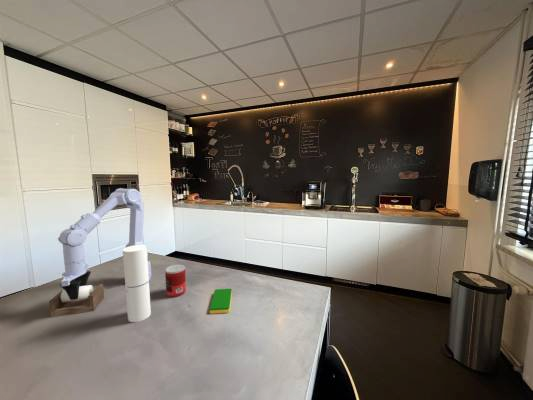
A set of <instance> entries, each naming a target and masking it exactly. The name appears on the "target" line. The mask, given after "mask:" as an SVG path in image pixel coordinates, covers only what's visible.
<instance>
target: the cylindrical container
mask: <svg viewBox="0 0 533 400" xmlns="http://www.w3.org/2000/svg"><path fill="white" fill-rule="evenodd" d="M147 253H148V249H147V245H146V244H145V245H134V246H129V247H126V246H125V247H124V248H123V249H122V261H123V271H124V272H123V273H124V283H125V296H126V299H125V300H126V311H127V313H126V314H127V320H128V322H130V323H139V322H141V321H144V320H146V319H147V318H149V317H150V316H151V314H152V310H151V309H152V307H151V296H150V295H151V293H150V292H151V291H150V280H149V276H148V261H149V259H148V257H147Z"/></svg>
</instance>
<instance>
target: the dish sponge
mask: <svg viewBox="0 0 533 400" xmlns="http://www.w3.org/2000/svg"><path fill="white" fill-rule="evenodd" d="M232 294H233V288H218V289H217V288H216V289H214V291H213V295H212V299H211V302H210V306H209V314H210V315H211V314H230V312H231V305H232V304H231V303H232Z"/></svg>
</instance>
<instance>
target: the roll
mask: <svg viewBox="0 0 533 400" xmlns="http://www.w3.org/2000/svg"><path fill="white" fill-rule="evenodd" d="M62 290H63V291H62ZM62 290H61V291H62V293H61V301H62V302H70V301H77V300H85V299H89V295H90V294H91V293H92V292H93V291H94V286H93V285H92V284H89V285H88V284H87V285H86V286H79V296H78V299H75V300H70V298H69V296H68V294H67V292H66V291H65V290H64V289H63V288H62Z"/></svg>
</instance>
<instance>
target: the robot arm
mask: <svg viewBox="0 0 533 400" xmlns="http://www.w3.org/2000/svg"><path fill="white" fill-rule="evenodd" d="M121 205H125V206H126V207H127V208H128V209H129V210H130V211H129V213H130V214H129V233H128V234H129V235H128V236H129V237H128V243H127V244H126V245H125V248H126V247H129V246H134V245H145V246H146V244H145V243H144V242H143V241H144V240H143V239H144V238H143V237H144V213H145V203H144V201H143V199H142V193H141V192H140V191H139V190H137V189H135V188H122V187H120V188H116V189H115V190H114V191H113V192H111V193H110V195H109V197H107V198H106V200H104V202H102V203H101V204H100V205H99V206H98V207H97V208H96V209H95V210H94V211H92V212H91V213H90V212H87V213H86V214H82V215H81V216H80V219H79V220H78V221H76V222H75V223H74V224H71V225H70V226H69V228H66V229H64V230H62V231H61V233H60V235H59V237H57V240H58V242H59V243H61V244H62V254H63V262H64V270H65V271H64V272H63V273H62V274H61V277H63V279H62V280H61V281H60V285H59V286H60V287H61V289H62V290H63V289H64V290H65V291H66V292H67V294H68V296H69V298H70V300H75V299H78V296H79V286H87V285H88V280H89V278H90V275H91V273H92V272H91V271H90V270H89V264H88V263H87V264H86V263H85V261H86V258H85V249H84V243H85V241H86V240H87V236H88V235H89V234H90V233H91V232H92V231H93V230H94V229H95V228H97V226H99V225H100V224H101V219H102V218H103V217H104V216H105V215H107V214H108V213H109V212H110V211H112V210H113V209H114V208H115V207H116V206H121ZM148 257H149V253H148V252H147V258H148ZM148 276H149V281H150V280H151V278H152V265H151V261H150V260H148Z"/></svg>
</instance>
